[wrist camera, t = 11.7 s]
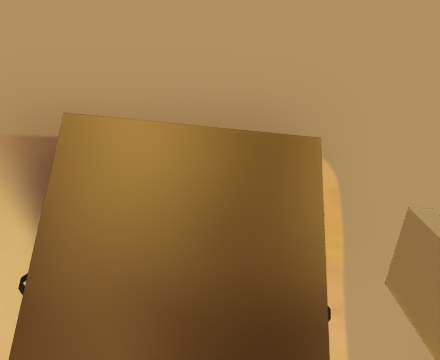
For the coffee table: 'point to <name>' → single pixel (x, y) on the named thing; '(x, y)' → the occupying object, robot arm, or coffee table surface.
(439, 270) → the robot arm
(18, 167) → the coffee table surface
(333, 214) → the coffee table surface
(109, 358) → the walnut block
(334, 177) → the coffee table surface
